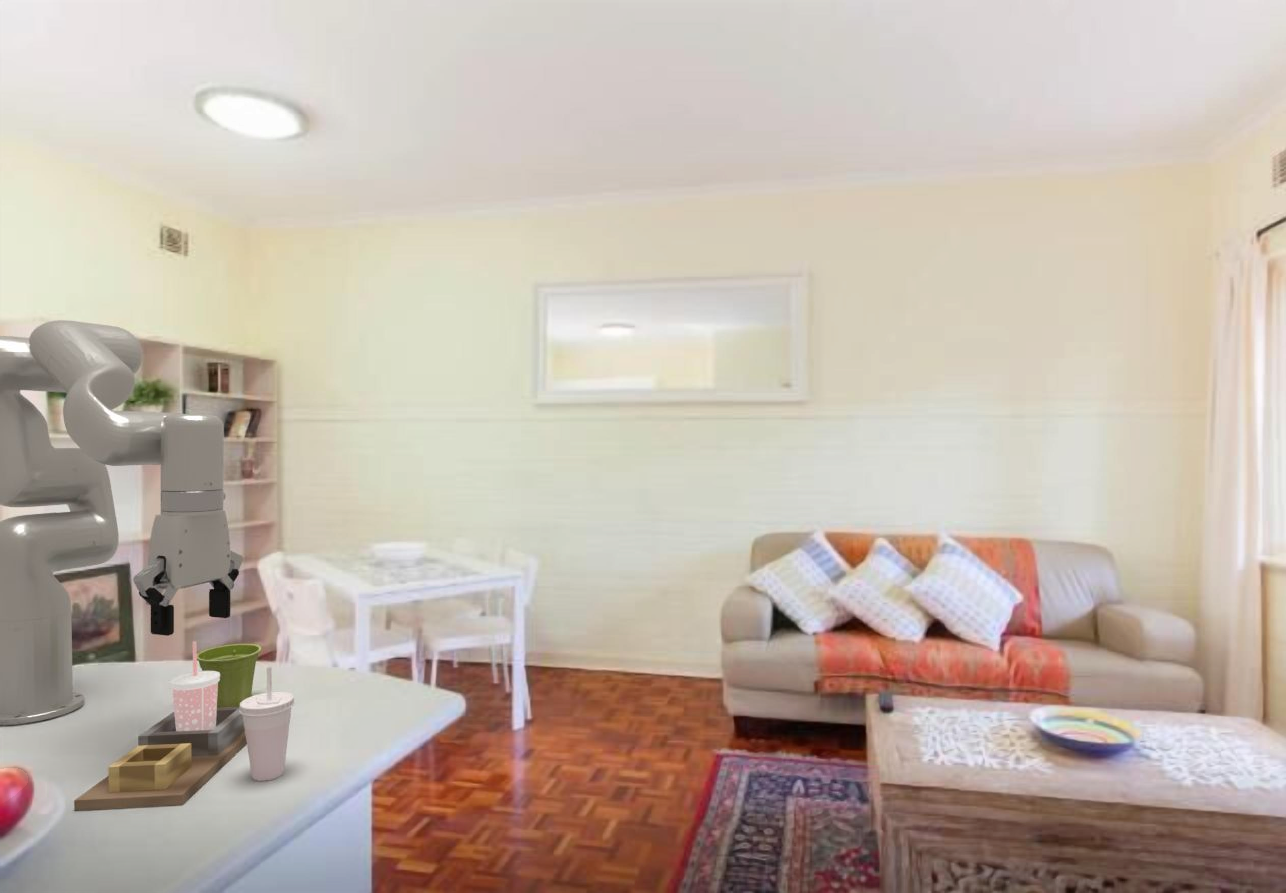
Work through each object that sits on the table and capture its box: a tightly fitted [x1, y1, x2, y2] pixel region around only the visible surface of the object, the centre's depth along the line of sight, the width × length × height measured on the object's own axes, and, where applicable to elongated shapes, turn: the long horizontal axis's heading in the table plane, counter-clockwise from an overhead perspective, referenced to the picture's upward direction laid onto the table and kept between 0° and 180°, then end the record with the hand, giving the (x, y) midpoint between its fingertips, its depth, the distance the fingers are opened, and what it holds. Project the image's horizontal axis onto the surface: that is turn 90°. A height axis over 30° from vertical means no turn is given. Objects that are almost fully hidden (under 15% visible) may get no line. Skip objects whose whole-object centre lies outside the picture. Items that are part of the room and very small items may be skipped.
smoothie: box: [239, 665, 295, 782], centre depth 98 cm, size 6×6×14 cm
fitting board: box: [73, 707, 247, 811], centre depth 100 cm, size 22×12×4 cm, turn 6°
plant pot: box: [197, 643, 262, 708], centre depth 125 cm, size 9×9×9 cm
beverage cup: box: [169, 640, 220, 731], centre depth 106 cm, size 6×6×14 cm
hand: (192, 625), depth 106 cm, fingers open, 9 cm apart
